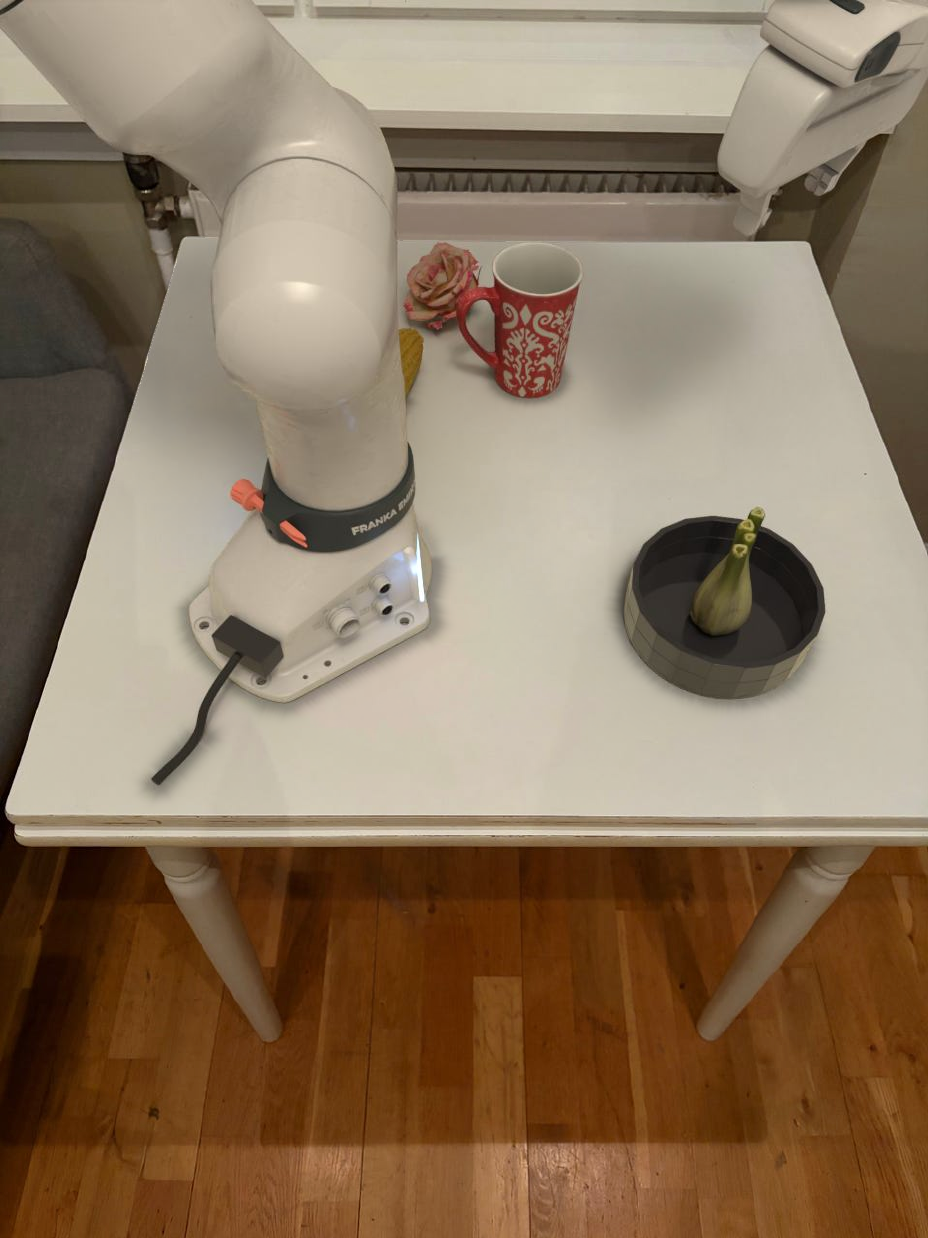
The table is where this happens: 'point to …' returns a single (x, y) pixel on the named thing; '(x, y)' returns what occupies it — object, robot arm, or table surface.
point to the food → (410, 354)
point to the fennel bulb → (728, 584)
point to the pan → (722, 662)
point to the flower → (440, 283)
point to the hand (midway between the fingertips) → (782, 208)
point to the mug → (527, 315)
